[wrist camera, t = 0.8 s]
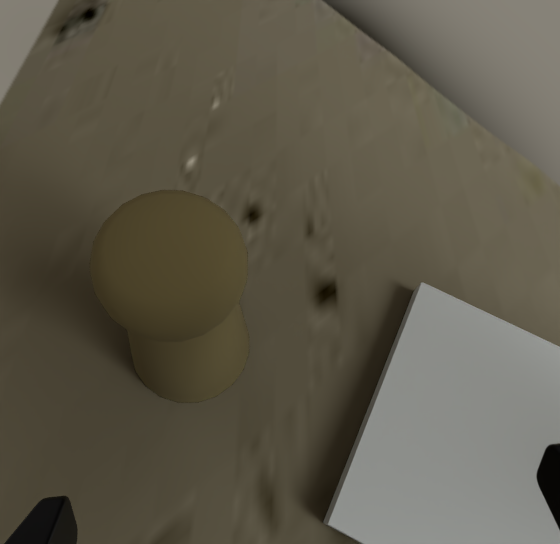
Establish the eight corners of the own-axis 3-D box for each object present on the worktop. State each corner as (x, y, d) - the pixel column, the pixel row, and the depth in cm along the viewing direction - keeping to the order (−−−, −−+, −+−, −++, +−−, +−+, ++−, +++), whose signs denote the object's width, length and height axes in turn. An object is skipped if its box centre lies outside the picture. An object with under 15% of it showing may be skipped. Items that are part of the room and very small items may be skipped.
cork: (113, 318, 25) (35, 199, 15) (219, 272, 26) (213, 137, 16) (158, 425, 23) (104, 372, 13) (270, 368, 24) (298, 281, 14)
